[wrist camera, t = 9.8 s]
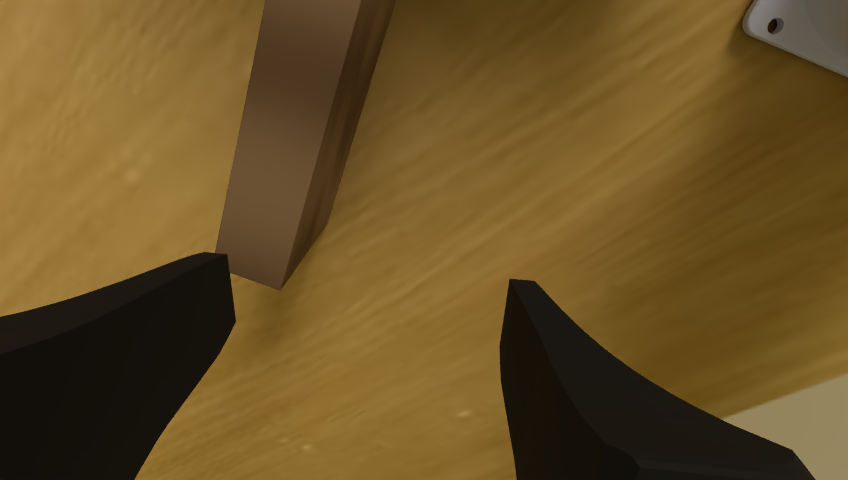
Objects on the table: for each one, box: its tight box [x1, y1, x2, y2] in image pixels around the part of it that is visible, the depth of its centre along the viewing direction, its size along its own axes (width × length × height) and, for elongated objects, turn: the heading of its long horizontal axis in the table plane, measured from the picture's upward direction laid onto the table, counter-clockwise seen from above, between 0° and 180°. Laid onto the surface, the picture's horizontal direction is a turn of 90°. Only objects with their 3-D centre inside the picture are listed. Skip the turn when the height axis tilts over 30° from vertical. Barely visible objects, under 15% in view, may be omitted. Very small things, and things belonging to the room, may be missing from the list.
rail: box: [215, 0, 395, 290], centre depth 15 cm, size 17×3×6 cm, turn 160°
